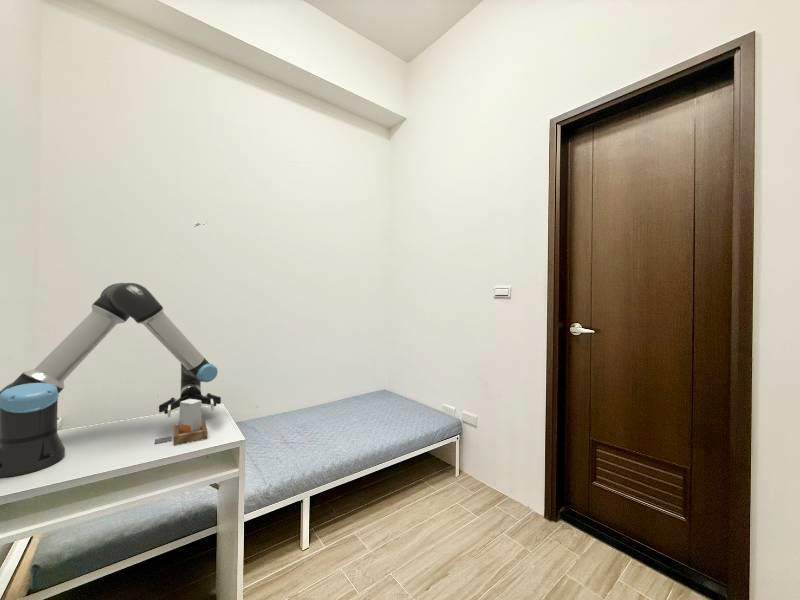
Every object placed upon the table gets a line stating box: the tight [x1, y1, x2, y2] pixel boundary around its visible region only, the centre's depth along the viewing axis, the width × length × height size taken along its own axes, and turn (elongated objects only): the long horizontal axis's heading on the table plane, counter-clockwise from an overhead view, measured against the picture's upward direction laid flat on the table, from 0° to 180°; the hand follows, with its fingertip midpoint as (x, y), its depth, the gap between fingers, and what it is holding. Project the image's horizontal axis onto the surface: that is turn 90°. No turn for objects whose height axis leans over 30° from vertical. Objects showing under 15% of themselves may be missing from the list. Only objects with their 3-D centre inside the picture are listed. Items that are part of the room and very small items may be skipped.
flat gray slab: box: [153, 435, 173, 445], centre depth 115 cm, size 5×4×1 cm
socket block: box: [172, 419, 208, 446], centre depth 119 cm, size 10×12×3 cm
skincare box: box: [179, 399, 203, 434], centre depth 119 cm, size 6×4×12 cm
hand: (191, 410), depth 119 cm, fingers open, 13 cm apart
